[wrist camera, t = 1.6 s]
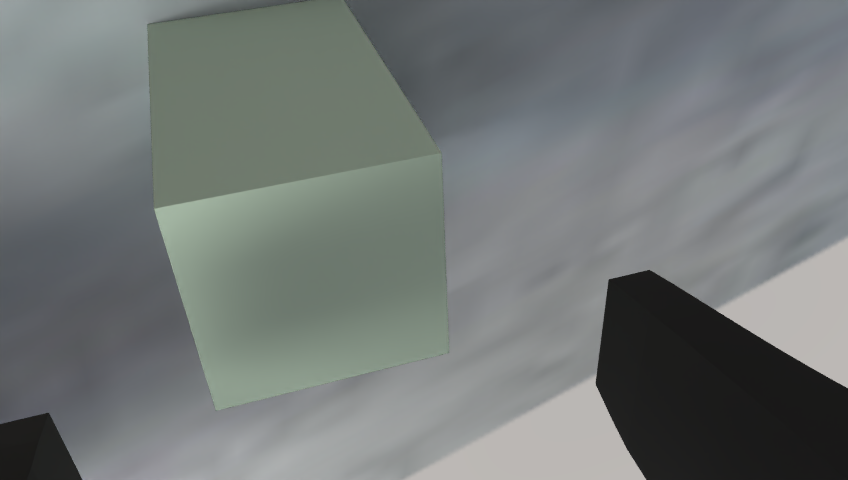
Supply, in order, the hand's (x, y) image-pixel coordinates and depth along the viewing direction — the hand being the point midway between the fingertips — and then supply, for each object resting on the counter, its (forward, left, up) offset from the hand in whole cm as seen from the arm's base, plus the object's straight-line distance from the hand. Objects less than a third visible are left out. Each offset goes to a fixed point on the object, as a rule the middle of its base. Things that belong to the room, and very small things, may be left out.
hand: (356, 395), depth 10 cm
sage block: (0, 0, -9) cm, 9 cm away
